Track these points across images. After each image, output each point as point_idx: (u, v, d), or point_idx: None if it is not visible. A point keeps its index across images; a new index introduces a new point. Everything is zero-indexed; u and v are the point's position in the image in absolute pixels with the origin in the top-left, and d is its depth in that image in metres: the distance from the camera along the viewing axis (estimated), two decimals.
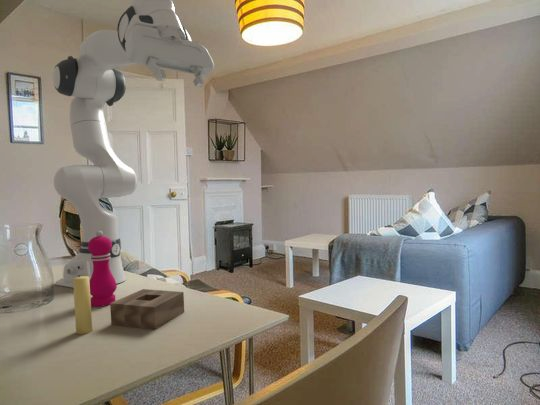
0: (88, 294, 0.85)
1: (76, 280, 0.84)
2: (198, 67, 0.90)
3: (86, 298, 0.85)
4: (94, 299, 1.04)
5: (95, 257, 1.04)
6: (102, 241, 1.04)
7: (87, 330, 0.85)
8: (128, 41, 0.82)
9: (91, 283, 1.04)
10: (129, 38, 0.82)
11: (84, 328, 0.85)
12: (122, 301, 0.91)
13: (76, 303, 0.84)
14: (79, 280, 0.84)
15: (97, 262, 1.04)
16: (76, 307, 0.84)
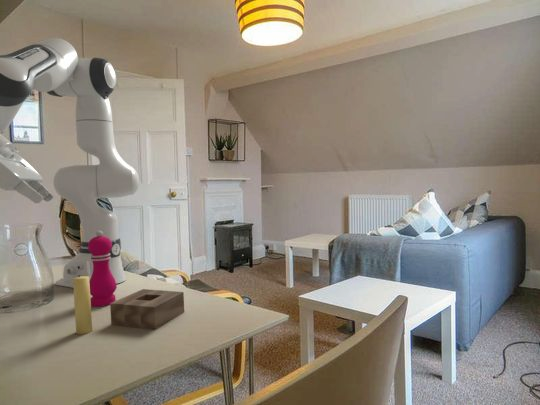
0: (88, 294, 0.85)
1: (76, 280, 0.84)
2: None
3: (86, 298, 0.85)
4: (94, 299, 1.04)
5: (95, 257, 1.04)
6: (102, 241, 1.04)
7: (87, 330, 0.85)
8: None
9: (91, 283, 1.04)
10: None
11: (84, 328, 0.85)
12: (122, 301, 0.91)
13: (76, 303, 0.84)
14: (79, 280, 0.84)
15: (97, 262, 1.04)
16: (76, 307, 0.84)
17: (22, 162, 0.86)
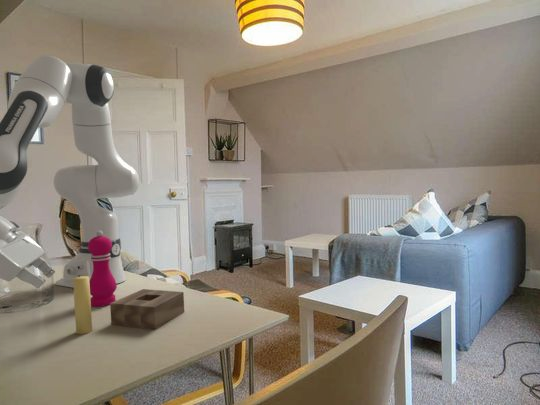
0: (88, 294, 0.85)
1: (76, 280, 0.84)
2: None
3: (86, 298, 0.85)
4: (94, 299, 1.04)
5: (95, 257, 1.04)
6: (102, 241, 1.04)
7: (87, 330, 0.85)
8: None
9: (91, 283, 1.04)
10: None
11: (84, 328, 0.85)
12: (122, 301, 0.91)
13: (76, 303, 0.84)
14: (79, 280, 0.84)
15: (97, 262, 1.04)
16: (76, 307, 0.84)
17: (25, 237, 0.89)
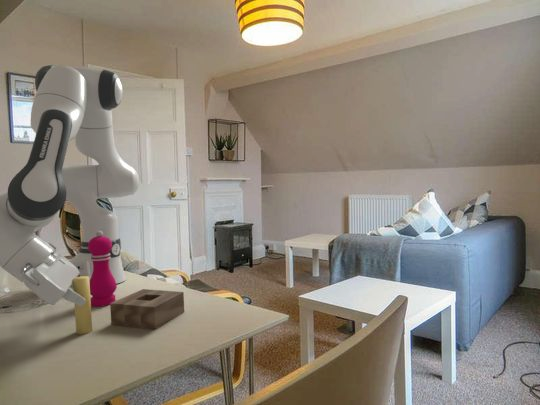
0: (88, 294, 0.85)
1: (76, 280, 0.84)
2: None
3: (86, 298, 0.85)
4: (94, 299, 1.04)
5: (95, 257, 1.04)
6: (102, 241, 1.04)
7: (87, 330, 0.85)
8: None
9: (91, 283, 1.04)
10: None
11: (84, 328, 0.85)
12: (122, 301, 0.91)
13: None
14: (79, 280, 0.84)
15: (97, 262, 1.04)
16: (76, 307, 0.84)
17: (61, 258, 0.91)
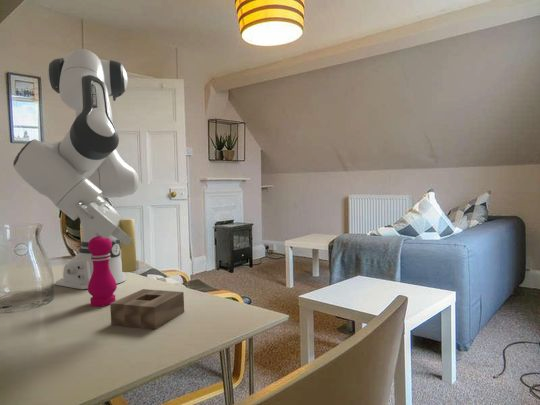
0: (133, 235, 0.90)
1: (123, 221, 0.89)
2: None
3: None
4: (94, 299, 1.04)
5: (95, 257, 1.04)
6: (102, 241, 1.04)
7: (132, 269, 0.90)
8: None
9: (91, 283, 1.04)
10: None
11: (130, 266, 0.90)
12: (122, 301, 0.91)
13: (122, 242, 0.89)
14: (125, 221, 0.89)
15: (97, 262, 1.04)
16: (122, 246, 0.89)
17: (106, 204, 0.96)
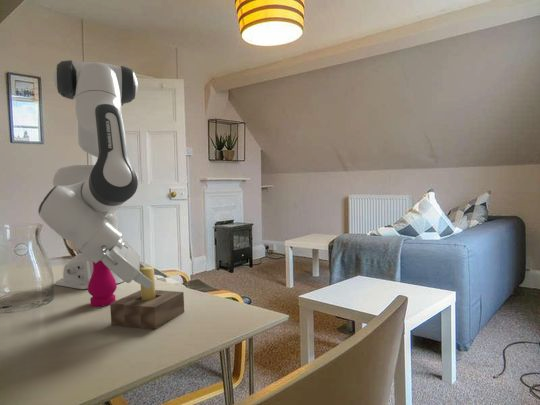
0: (153, 283, 0.93)
1: (143, 270, 0.92)
2: None
3: (151, 287, 0.92)
4: (94, 299, 1.04)
5: None
6: None
7: None
8: None
9: (91, 283, 1.04)
10: None
11: None
12: (122, 301, 0.91)
13: (143, 291, 0.92)
14: (146, 270, 0.92)
15: (97, 262, 1.04)
16: (143, 295, 0.92)
17: (124, 243, 0.98)
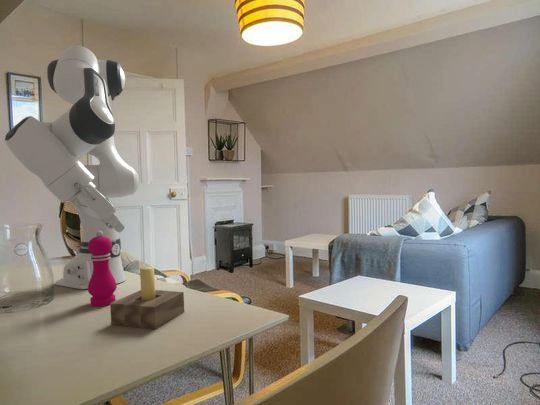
0: (153, 283, 0.93)
1: (143, 270, 0.92)
2: None
3: (152, 287, 0.92)
4: (94, 299, 1.04)
5: (95, 257, 1.04)
6: (102, 241, 1.04)
7: None
8: None
9: (91, 283, 1.04)
10: None
11: None
12: (122, 301, 0.91)
13: (143, 291, 0.92)
14: (146, 270, 0.92)
15: (97, 262, 1.04)
16: (143, 295, 0.92)
17: None
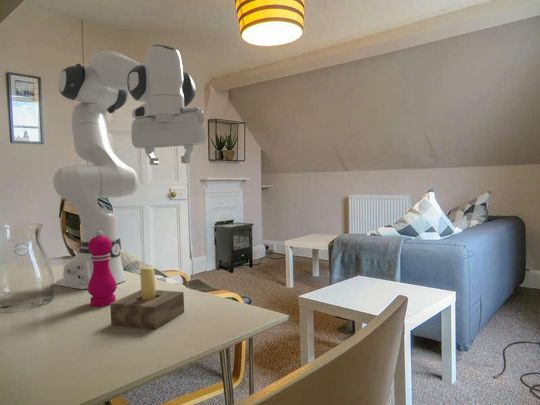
0: (154, 283, 0.93)
1: (144, 270, 0.92)
2: (184, 145, 0.98)
3: (152, 287, 0.92)
4: (94, 299, 1.04)
5: (95, 257, 1.04)
6: (102, 241, 1.04)
7: None
8: None
9: (91, 283, 1.04)
10: None
11: None
12: (122, 301, 0.91)
13: (143, 291, 0.92)
14: (146, 270, 0.92)
15: (97, 262, 1.04)
16: (143, 295, 0.92)
17: None
